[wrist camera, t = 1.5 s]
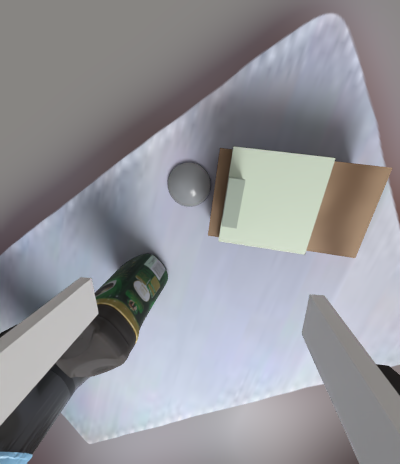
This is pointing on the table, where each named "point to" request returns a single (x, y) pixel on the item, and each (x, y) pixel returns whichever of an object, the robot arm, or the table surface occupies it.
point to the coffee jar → (116, 318)
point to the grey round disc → (189, 184)
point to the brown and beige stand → (325, 205)
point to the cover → (273, 198)
